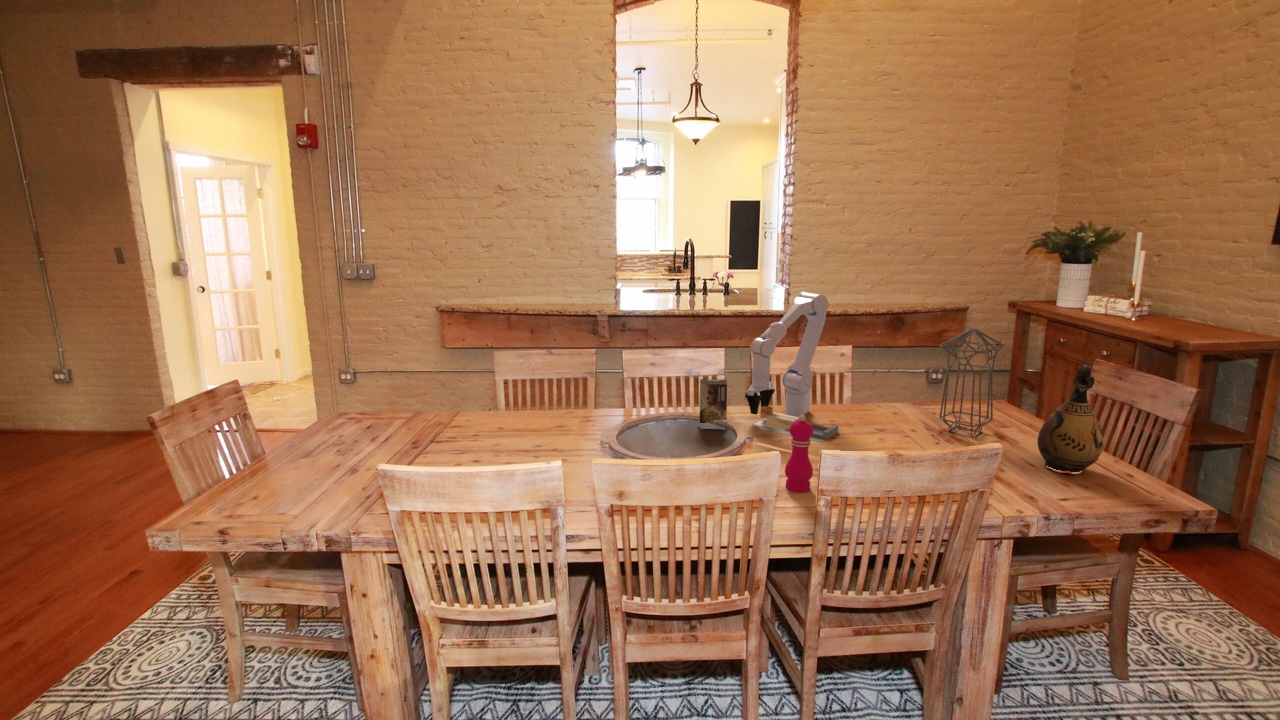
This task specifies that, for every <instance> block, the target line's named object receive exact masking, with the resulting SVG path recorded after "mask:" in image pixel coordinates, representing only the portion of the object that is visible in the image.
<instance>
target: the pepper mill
mask: <svg viewBox="0 0 1280 720" xmlns="http://www.w3.org/2000/svg"><path fill="white" fill-rule="evenodd" d="M810 423H811V422H809V421H807V420H806V415H800V416H799V420H797V421H795V422H793V423H792V424H791V426H790V434H791V435H790V436H791V438H790V444H791V445H792V446H791V447H792V449H791V454H790V457H788V458H789V459H788V461H787V462H786V464H785V469H784V474H785V476H786V480H785V487H786V489H788V490H789V491H791V492H795V493H806V492H808V491H810V489H811V481H810V480H811V479H812V477H813V476H814V471H813V470H814V469H813V465H812V463H811V459H810V457H809V448H810V447H809V446H811V441H812V440H810V438H811V437H812V435H813V427H812V425H811V424H810Z"/></svg>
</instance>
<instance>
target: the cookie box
mask: <svg viewBox="0 0 1280 720" xmlns="http://www.w3.org/2000/svg"><path fill="white" fill-rule="evenodd" d="M727 402H728V381H727V379H720V378H719V379H714V378H707V379H706V378H700V380H699V421H700V423H707V422H711V421H714V420H726V421H727V407H728V405H727V404H728V403H727Z"/></svg>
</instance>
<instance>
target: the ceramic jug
mask: <svg viewBox="0 0 1280 720" xmlns="http://www.w3.org/2000/svg"><path fill="white" fill-rule="evenodd" d="M1092 370H1093V367H1092V366H1090V365H1088V364H1084V365H1081V366H1080V367H1079V368H1078V370H1077V373H1076V374H1075V375H1074V377H1073V384H1074V386H1073V390H1072V391H1073V392H1072V394H1071V396H1070V397H1069V399H1068V400H1066V401H1065V402H1063V403H1062V404H1061V405H1060V406H1058V408H1057V409H1055V410H1054V412H1052V413H1051V414H1050V415H1049V416H1048V417H1047V418H1046V419H1045V420H1044V423H1043V425H1041V426H1042V427H1040V430H1039V432H1038V435H1037V436H1038V437H1037V447H1038V451H1039V453H1040V455H1041V457H1042V458H1043V460H1044V466H1045V465H1046V466H1048V467H1051V468H1053V469H1056V470H1061V471H1070V472H1080V471H1083V470H1084V471H1085V470H1086V469H1087V468H1089V467H1090V466H1092V465H1093V464H1094V463H1096V462H1097V461H1098V460H1099V458H1100V456H1101V454H1102V452H1103V448H1104V439H1103V438H1104V435H1103V432H1102V431H1103V430H1102V428H1101V424H1100V423H1099V420H1098V419H1097V417H1096V414H1095V411H1094V410H1093V409H1092V407H1091V406H1090V402H1089V400H1088V395H1087V393H1088V390H1091V389H1093V387H1094V384H1095V378H1094V376H1091V373H1092Z"/></svg>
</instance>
